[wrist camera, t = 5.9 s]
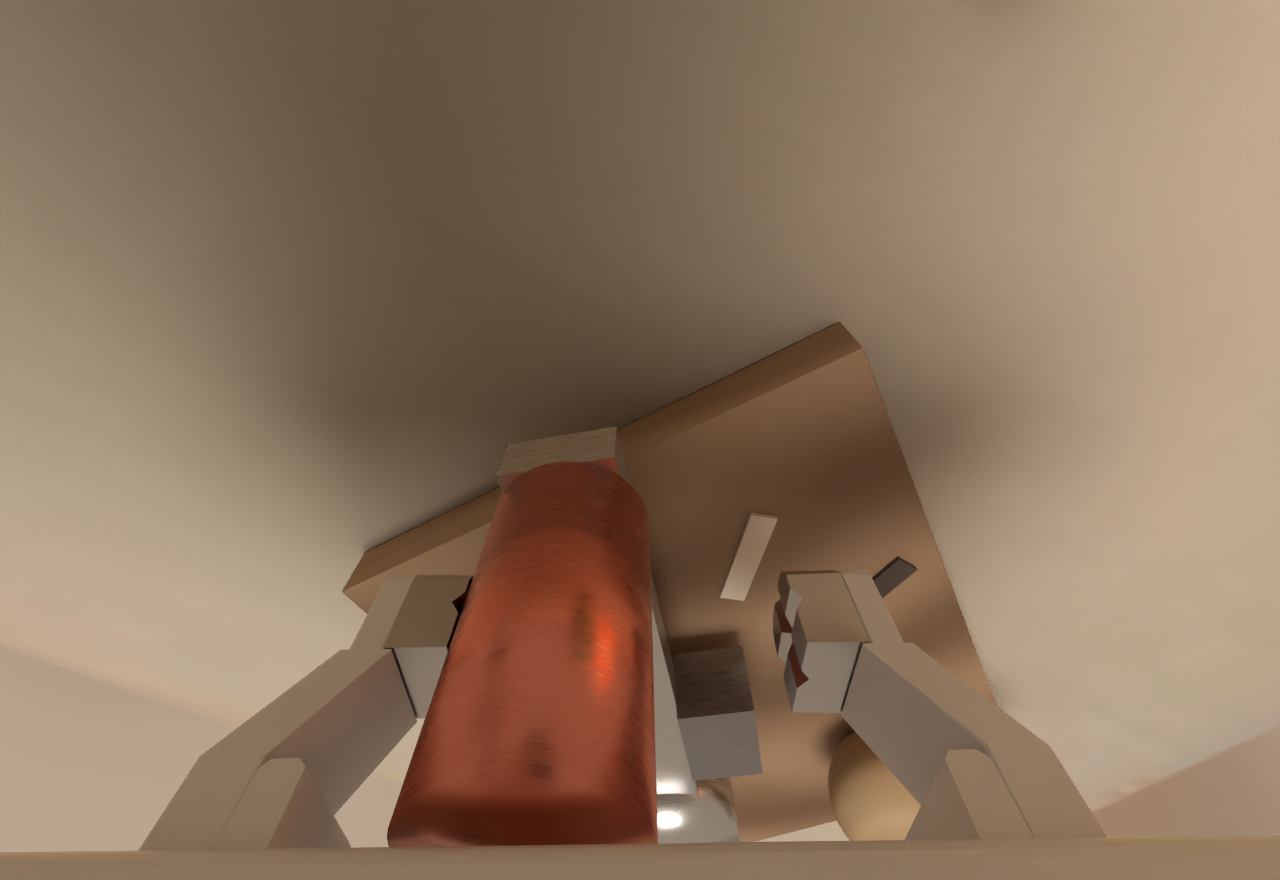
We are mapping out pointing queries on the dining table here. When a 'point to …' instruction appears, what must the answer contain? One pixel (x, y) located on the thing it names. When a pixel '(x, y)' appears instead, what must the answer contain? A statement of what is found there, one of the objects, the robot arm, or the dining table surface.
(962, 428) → the dining table surface
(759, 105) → the dining table surface
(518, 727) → the lever
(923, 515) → the board
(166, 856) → the robot arm
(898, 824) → the wooden ball
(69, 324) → the dining table surface
